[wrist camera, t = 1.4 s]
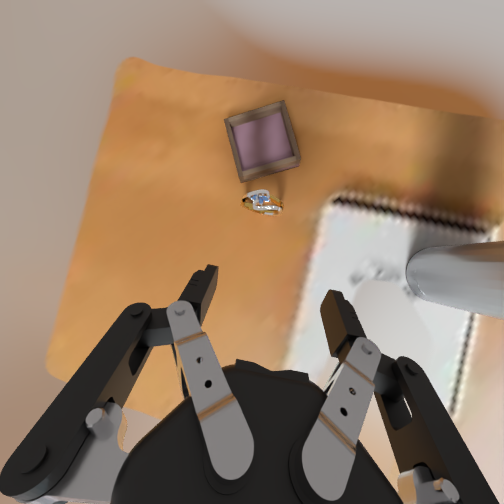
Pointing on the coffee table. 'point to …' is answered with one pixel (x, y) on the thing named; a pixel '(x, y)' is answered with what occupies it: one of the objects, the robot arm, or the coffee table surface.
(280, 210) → the ring
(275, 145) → the jewellery tray
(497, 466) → the coffee table surface
